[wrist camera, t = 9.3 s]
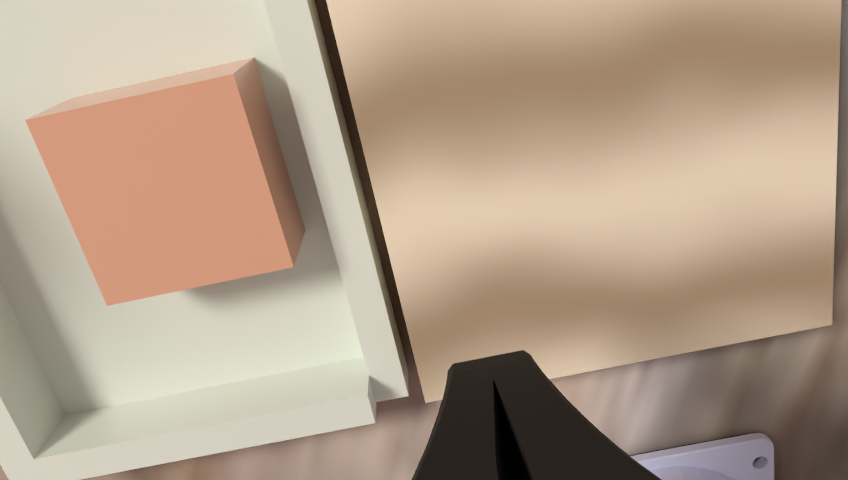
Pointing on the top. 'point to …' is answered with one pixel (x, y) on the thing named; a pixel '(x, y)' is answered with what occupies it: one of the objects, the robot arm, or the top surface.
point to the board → (598, 172)
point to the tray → (192, 308)
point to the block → (173, 181)
